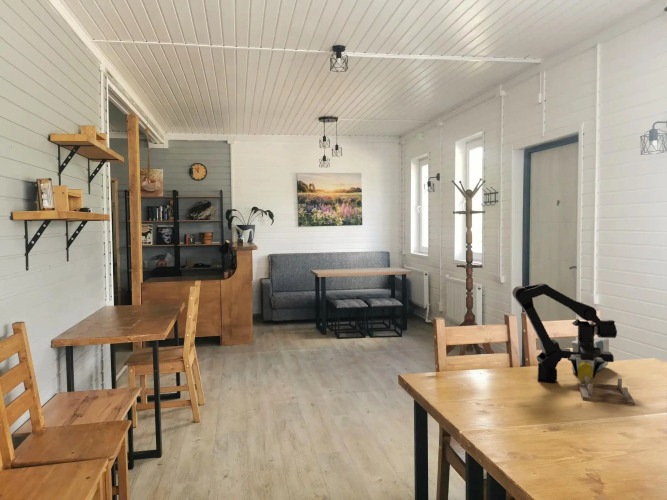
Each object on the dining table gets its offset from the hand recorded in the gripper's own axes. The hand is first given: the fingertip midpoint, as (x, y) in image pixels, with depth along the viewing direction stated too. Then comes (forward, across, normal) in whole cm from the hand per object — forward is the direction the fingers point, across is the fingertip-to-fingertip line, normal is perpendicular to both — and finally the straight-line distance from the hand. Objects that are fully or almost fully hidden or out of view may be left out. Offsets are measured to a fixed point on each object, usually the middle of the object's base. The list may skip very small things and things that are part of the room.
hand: (585, 376), depth 199 cm
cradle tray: (+2, +5, -15) cm, 16 cm away
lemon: (+2, 0, 0) cm, 2 cm away
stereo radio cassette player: (+2, +4, +18) cm, 19 cm away
